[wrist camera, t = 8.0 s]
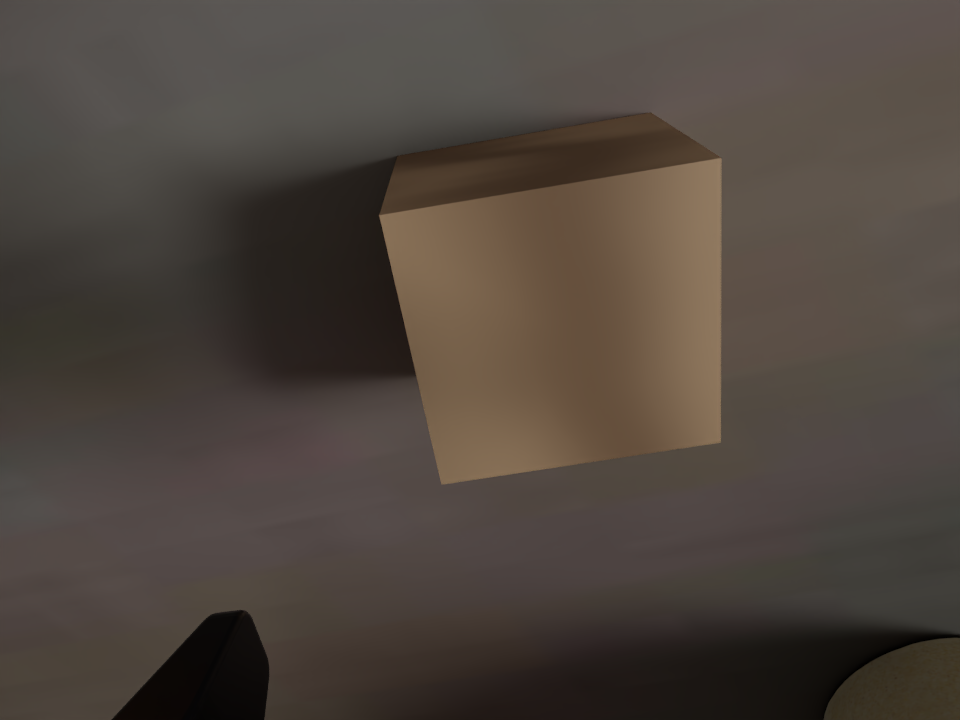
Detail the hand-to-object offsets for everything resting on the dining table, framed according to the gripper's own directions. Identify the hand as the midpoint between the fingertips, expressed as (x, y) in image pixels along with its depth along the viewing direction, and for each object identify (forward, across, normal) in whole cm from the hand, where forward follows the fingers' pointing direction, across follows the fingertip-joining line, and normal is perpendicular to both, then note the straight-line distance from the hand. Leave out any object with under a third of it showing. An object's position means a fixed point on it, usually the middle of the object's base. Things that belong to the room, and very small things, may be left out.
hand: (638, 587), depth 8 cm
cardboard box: (+11, 0, 0) cm, 11 cm away
